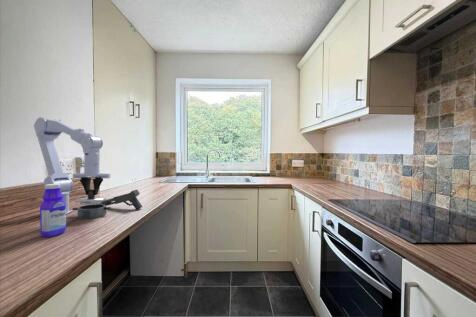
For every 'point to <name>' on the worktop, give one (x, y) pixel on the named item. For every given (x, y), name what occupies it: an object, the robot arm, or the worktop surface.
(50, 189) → the bottle
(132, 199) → the handgun
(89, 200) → the lid
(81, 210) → the pot
